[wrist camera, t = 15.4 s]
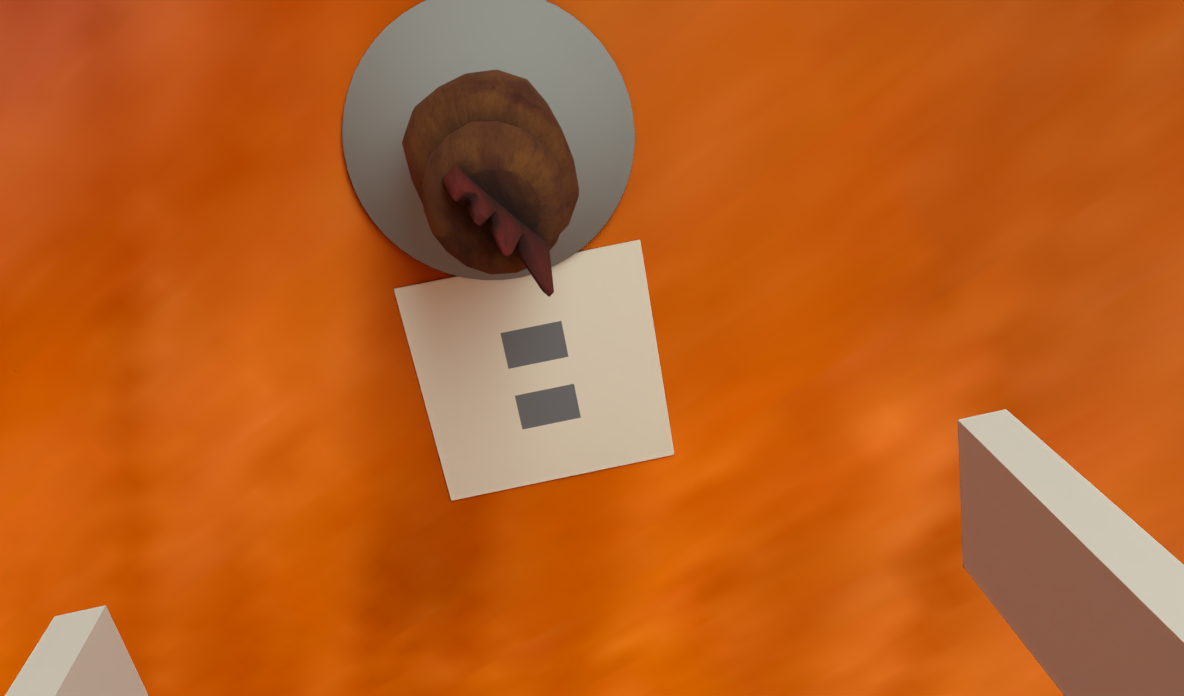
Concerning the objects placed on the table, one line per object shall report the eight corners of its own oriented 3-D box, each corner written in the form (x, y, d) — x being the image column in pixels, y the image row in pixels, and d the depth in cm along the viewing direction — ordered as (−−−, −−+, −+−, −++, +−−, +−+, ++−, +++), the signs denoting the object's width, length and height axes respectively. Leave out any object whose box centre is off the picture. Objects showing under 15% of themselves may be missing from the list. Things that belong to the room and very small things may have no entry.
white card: (451, 499, 47) (451, 500, 47) (393, 288, 43) (393, 289, 43) (673, 453, 47) (674, 454, 47) (639, 239, 43) (640, 240, 43)
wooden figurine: (588, 185, 41) (643, 308, 28) (467, 244, 42) (462, 393, 28) (517, 34, 39) (539, 87, 25) (388, 98, 39) (340, 185, 25)
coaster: (385, 301, 43) (384, 304, 42) (307, 18, 38) (305, 19, 38) (652, 248, 43) (654, 250, 43) (608, -39, 38) (609, -39, 38)
